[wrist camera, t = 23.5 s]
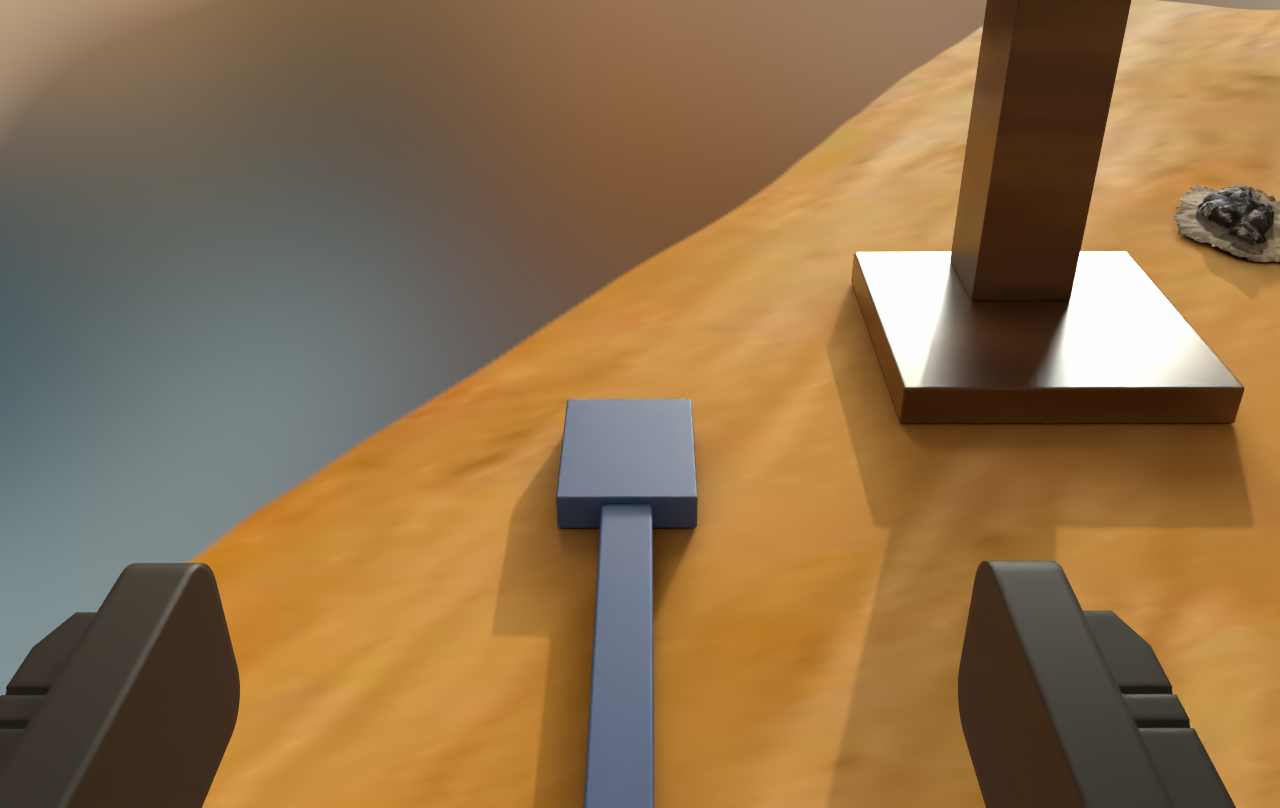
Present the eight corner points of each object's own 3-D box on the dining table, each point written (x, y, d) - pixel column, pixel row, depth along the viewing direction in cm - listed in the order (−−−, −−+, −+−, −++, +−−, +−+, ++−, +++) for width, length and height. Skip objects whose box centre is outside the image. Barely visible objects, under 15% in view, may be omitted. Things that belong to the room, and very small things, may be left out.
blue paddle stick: (725, 1019, 23) (728, 982, 22) (504, 1018, 23) (499, 982, 22) (690, 427, 42) (691, 398, 41) (568, 427, 42) (567, 398, 41)
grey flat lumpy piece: (1294, 204, 60) (1304, 169, 59) (1347, 268, 53) (1360, 229, 52) (1155, 197, 61) (1164, 162, 60) (1191, 259, 54) (1201, 220, 53)
